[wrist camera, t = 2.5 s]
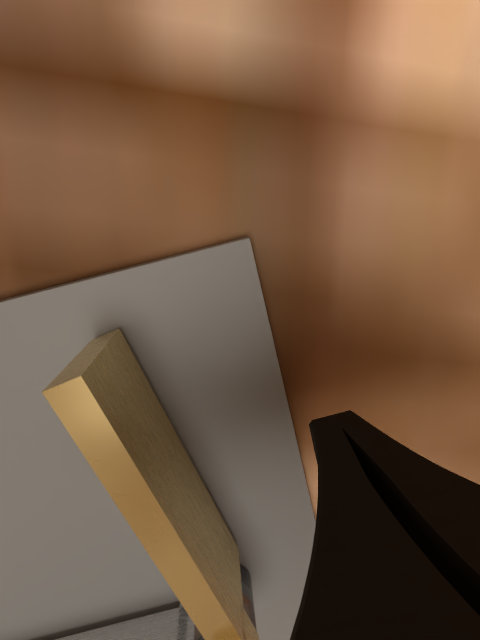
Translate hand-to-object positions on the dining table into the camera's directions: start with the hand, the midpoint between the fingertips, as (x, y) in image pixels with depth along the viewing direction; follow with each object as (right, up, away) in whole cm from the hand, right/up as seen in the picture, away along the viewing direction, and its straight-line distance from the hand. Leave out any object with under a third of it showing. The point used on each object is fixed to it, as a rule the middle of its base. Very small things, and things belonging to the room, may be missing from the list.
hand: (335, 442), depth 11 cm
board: (-10, -5, +4) cm, 11 cm away
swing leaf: (-6, -3, +3) cm, 7 cm away
